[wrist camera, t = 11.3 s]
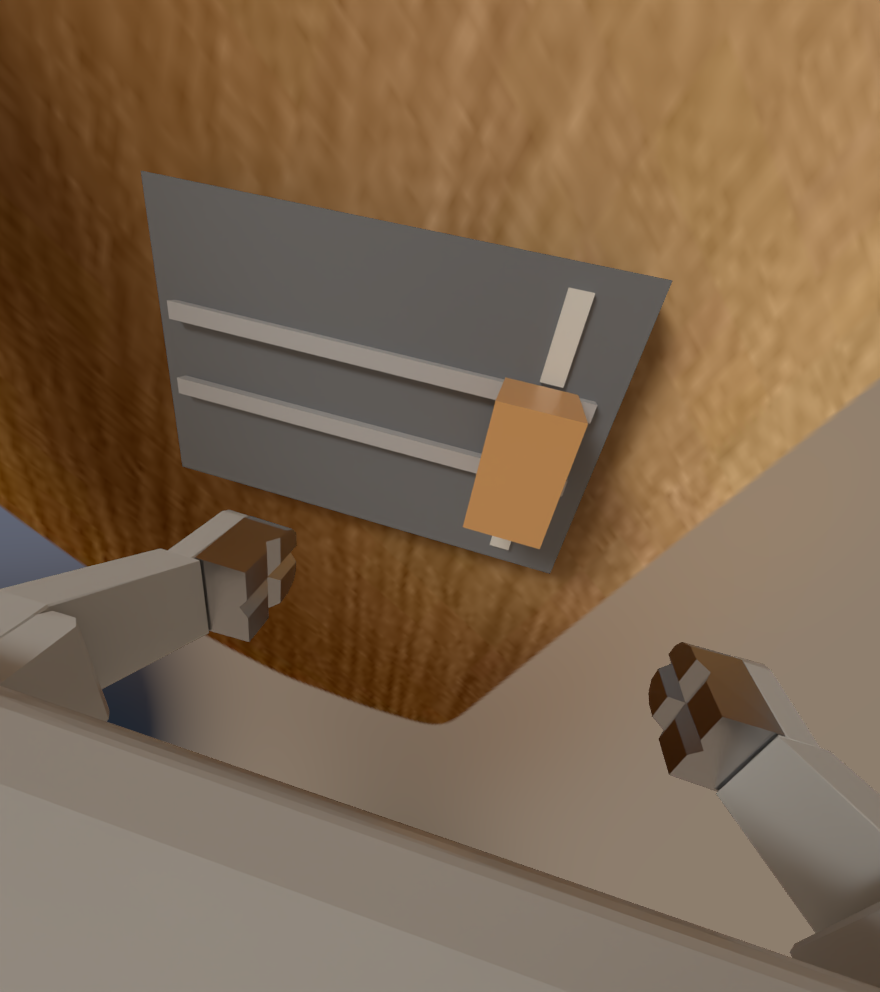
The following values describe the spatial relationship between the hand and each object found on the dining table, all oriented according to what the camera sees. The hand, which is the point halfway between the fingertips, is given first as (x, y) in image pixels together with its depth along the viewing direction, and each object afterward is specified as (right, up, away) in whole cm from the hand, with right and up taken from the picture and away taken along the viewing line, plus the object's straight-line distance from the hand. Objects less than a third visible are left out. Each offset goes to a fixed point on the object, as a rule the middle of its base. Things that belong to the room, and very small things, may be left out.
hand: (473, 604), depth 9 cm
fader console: (-3, +8, +13) cm, 16 cm away
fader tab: (+3, +5, +10) cm, 11 cm away
